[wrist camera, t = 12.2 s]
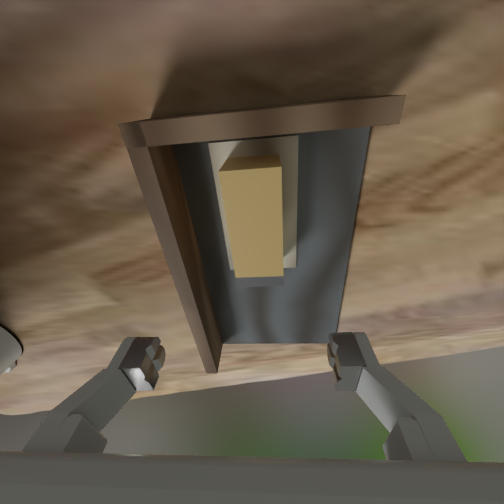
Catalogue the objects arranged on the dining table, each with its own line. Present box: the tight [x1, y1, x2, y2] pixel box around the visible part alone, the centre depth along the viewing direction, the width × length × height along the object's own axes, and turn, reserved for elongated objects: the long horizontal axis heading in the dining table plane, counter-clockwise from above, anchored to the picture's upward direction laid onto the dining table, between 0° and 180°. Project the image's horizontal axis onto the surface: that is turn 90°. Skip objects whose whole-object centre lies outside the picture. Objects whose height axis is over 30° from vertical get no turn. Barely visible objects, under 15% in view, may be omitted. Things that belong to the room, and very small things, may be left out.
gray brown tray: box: [118, 95, 406, 373], centre depth 25 cm, size 18×30×5 cm, turn 5°
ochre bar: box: [218, 154, 284, 287], centre depth 21 cm, size 11×4×4 cm, turn 5°
